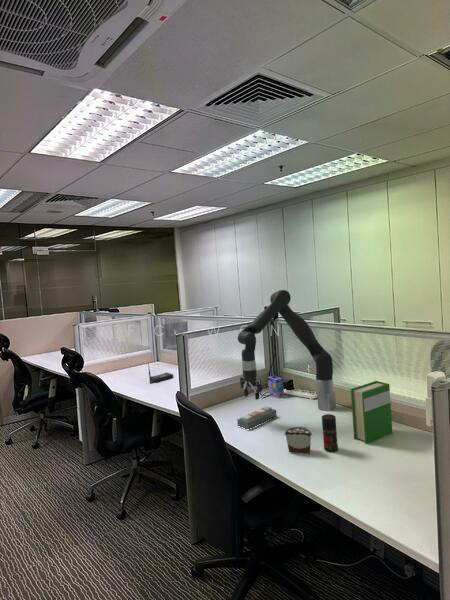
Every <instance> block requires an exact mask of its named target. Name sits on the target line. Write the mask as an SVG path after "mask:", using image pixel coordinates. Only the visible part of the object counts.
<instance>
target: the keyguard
mask: <svg viewBox="0 0 450 600" xmlns="http://www.w3.org/2000/svg"><path fill="white" fill-rule="evenodd" d="M277 416H278V415H277V409H274V408H272V411H271V412H268V413H267V412H265V414H264V415H262V416H261V415H259V417H257V418H255V419H254V418H252V420H251V421H249V422H246V421H243V420H242V418H241V417H240V418H238V419H237V421H236V422H237V427H238V426H240V427H243V428H245V429H244V430H246V429H250V428H252V429H254V428H253V427H255V426H257V425H259V424H261V425H262V423H263V424H265V423H267V422H269V421H271V420H274V419H275V418H277ZM270 419H271V420H270ZM268 420H269V421H268ZM266 421H267V422H266ZM264 422H265V423H264ZM259 426H260V425H259ZM240 427H239V428H240ZM257 427H258V426H257ZM243 428H242V429H243ZM255 428H256V427H255ZM250 430H251V429H250Z"/></svg>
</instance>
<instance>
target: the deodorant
mask: <svg viewBox="0 0 450 600" xmlns="http://www.w3.org/2000/svg"><path fill="white" fill-rule="evenodd" d="M321 424H322V437H323V438H322V439H323V450H324V452H327V453H336V452H338V450H339V447H338V435H337V434H338V433H337V420H336V415H334V414H329V413H327V414H324V415H322V416H321Z"/></svg>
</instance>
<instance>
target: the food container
mask: <svg viewBox="0 0 450 600" xmlns="http://www.w3.org/2000/svg"><path fill="white" fill-rule="evenodd" d="M283 436H285V438H286V443H287V447H288V448H287V449H288V453H289V452H292V453H291V454H299V453H303V455H311V445H312V442H311V439H312V436H313V434H312V431H311V429H310V428H308V427H304V426H292V427H289V428H287V429H286V430H285V432H284V435H283Z"/></svg>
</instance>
